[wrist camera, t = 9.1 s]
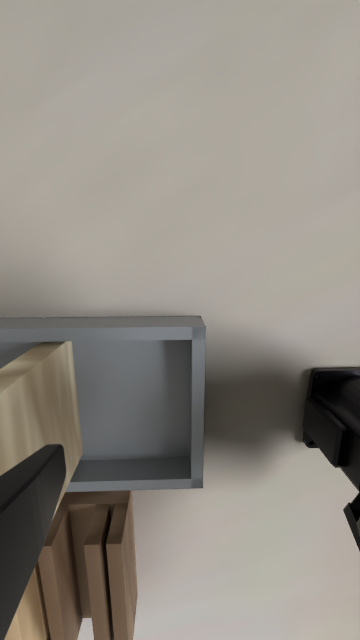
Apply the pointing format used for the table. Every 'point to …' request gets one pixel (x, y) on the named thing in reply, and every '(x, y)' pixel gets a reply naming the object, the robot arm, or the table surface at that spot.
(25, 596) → the upper oak offcut
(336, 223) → the table surface
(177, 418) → the gray tray
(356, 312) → the table surface
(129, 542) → the walnut rack
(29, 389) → the birch sheet
